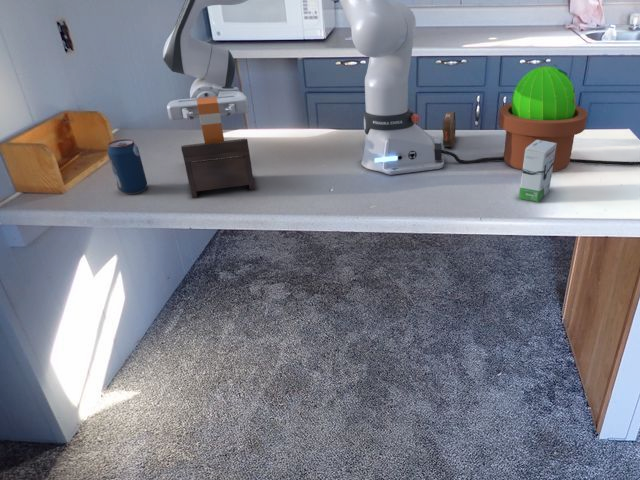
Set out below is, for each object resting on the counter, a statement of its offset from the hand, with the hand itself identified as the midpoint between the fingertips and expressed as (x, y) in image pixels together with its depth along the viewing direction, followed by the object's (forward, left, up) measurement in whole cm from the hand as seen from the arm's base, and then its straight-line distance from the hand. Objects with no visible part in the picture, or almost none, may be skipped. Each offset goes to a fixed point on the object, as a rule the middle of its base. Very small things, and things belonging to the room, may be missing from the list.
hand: (209, 114), depth 136 cm
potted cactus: (-85, +2, -16) cm, 86 cm away
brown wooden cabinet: (-2, +8, -16) cm, 18 cm away
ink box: (-77, +24, -16) cm, 82 cm away
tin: (-65, -18, -16) cm, 69 cm away
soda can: (+20, +7, -16) cm, 27 cm away
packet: (-2, +8, -6) cm, 10 cm away
